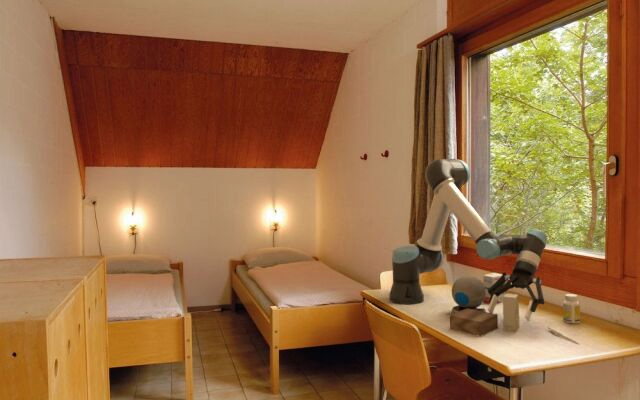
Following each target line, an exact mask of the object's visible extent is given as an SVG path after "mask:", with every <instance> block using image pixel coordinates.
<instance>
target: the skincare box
mask: <svg viewBox="0 0 640 400" xmlns="http://www.w3.org/2000/svg"><path fill="white" fill-rule="evenodd" d="M519 301H520V299H519V294H517V293H510V292H509V293H508V292H507V293H506V292H505V295H504V296H503V302H502V315H503V316H502V317H503V331H504V332H505V331H506V332H510V333H517V332H518V331H519V329H520V304H519V303H520V302H519Z"/></svg>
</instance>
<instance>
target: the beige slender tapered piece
mask: <svg viewBox="0 0 640 400" xmlns="http://www.w3.org/2000/svg"><path fill="white" fill-rule="evenodd" d="M547 328H548V329H549V330H550V332H551V334H554V335H555V336H557V337H560V338H562V339H565V340H567V341H569V342H572V343H575V344H578V345H580V343H579V341H577V340H576V339H574V338H573V337H571V336H570V335H568V334H567V333H565V332H564V331H563V330H561V329H557V328H554V327H551V326H549V325H548V326H547Z"/></svg>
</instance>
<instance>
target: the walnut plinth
mask: <svg viewBox="0 0 640 400" xmlns="http://www.w3.org/2000/svg"><path fill="white" fill-rule="evenodd" d="M498 323H499V320H498V314H497V313H494V312H493V313H490V312H489V311H486V312H483V311H478V310H473V309H468V308H467V309H464V310H462V311H459V312H457V313H454V314H450V315H449V330H452V331H456V332H461V333H465V334H468V333H469V334H468V335H472V336H477V335H478V337H483V336H485V335H487V334H489V333H491V332H493V331H495V330H497V329H498V328H499V327H498V326H499V325H498ZM482 335H483V336H482Z"/></svg>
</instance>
